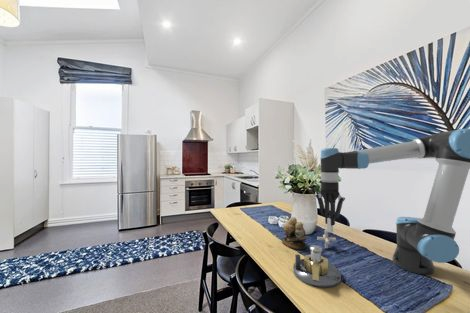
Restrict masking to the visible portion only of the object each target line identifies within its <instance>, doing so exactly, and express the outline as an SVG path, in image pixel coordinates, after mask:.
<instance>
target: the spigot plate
mask: <svg viewBox="0 0 470 313" xmlns="http://www.w3.org/2000/svg"><path fill="white" fill-rule="evenodd" d="M309 250H310V254H311V261H312V262H313V261H318V262H319V263H321V256H322V252H323V247H322V246H320V245H318V244H317V245H316V244H311V245H310V246H309ZM294 256H295V257H294V258H295V260H294V263H293V265H292V268H293V269H292V270H293V274H294V277H295V278H297V279H298V280H299V281H300V282H302V283H304V284H306V285H308V286H310V287H314V288H319V289H330V288H335V287H338V286H339V285H340V284H341V281H342V273H341V271H340V270H339V268H337V267H336V266H335V265H334V264H331V263H330V262H328V273H327V274H324V275H321V274H320V275H319V281H317V280H313V274H312V273H310V272H308V271H307V270H306V269H305V268H304V258H301V255H300V254H298V253H297V254H294Z"/></svg>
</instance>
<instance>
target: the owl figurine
mask: <svg viewBox="0 0 470 313" xmlns="http://www.w3.org/2000/svg"><path fill="white" fill-rule="evenodd" d="M283 232H284V236H285V237H283V238H282V239H281V243H282V244H283V245H284V246H285V247H286V248H289V249H291V250H295V251H303V250H307V248H308V246H307V244H306V243H305V241H306V240H308V237H307V236H306V230H305V228H304V223H303V222H301V221H297V218H296V217H294V216H292V217H290V218H289V219H288V220H287V221H285V223H284V224H283Z"/></svg>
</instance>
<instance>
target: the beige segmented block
mask: <svg viewBox="0 0 470 313" xmlns="http://www.w3.org/2000/svg"><path fill="white" fill-rule="evenodd" d="M303 259H304V268H305V269H306V270H307V271H308V272H310V273H312V274H313V280H317V281H319V275H320V274H321V275H324V274H327V273H328V263H329V259H328V258H326V257H325V256H322V255H321V263H319V262H318V261H313V262H312V261H311V253H310V254H306V255H304V258H303Z"/></svg>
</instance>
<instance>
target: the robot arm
mask: <svg viewBox="0 0 470 313" xmlns="http://www.w3.org/2000/svg"><path fill="white" fill-rule="evenodd" d="M411 158H417V159H425V158H429V159H430V158H433V159H434V158H435V161H436V162H437V163H438V167H437V170H436V173H435V177H434V180H433V184H432V187H431V191H430V194H429V197H428V201H427V205H426V208H425V211H424V214H423V218H421V217H411V216H399V217H397V218H396V222H395V224H396V248H395V249H394V252H393V255H392V263H393V264H394V265H395V266H397V267H398V268H400V269H402V270H405V271H407V272H410V273H414V274H419V275H432V274H434V273H435V265H434V263H439V264H446V263H448V262H452V261H453V260H456V258H457V257H458V256H459V254H460V246H459V245H458V244H457V241H456V240H455V238H456V234H457V232H456V230H455V229H454V228H453V224H454V222H455V217H456V214H457V211H458V207H459V205H460V201H461V198H462V194H463V190H464V189H465V188H464V187H465V184H466V182H467V179H468V178H467V177H468V175H469V171H470V128H458V129H454V130H447V131H442V132H437V133H433V134H430V135H426V136H423V137H418V138H414V139H413V140H412V141H407V142H401V143H393V144H389V145H383V146H377V147H371V148H366V149H365V148H364V149H359V150H353V151H346V152H341V151H339V149H338V148H336V147H331V148H330V147H329V148H327V147H326V148H322V149H321V150H320V158H319V159H320V180H321V181H320V192H319V193H318V194H315V197H316V199H317V203H318V206H319V207H318V208H319V212H320V215H321V216H324V217H325V218H324V220H325V221H324V222H325V225H326V228H327V229H326V230H327V232H328V233H329V234H330V233H333V232H334V226H335V225H336V219H337V218H339V217H340V215H341V210H342V208H343V202H345V200H346V197H343V196H342V195H341V194H340V191H339V186H340V185H339V183H340V182H339V169H340V170H341V169H349V170H352V169H353V170H354V169H356V170H357V169H358V170H360V169H363V170H365V169H367V168H368V167H369V164H370V165H371V164H375V163H382V162H391V161H398V160H403V159H404V160H405V159H411ZM337 200H338V201H337ZM336 202H337V203H336ZM336 204H337V205H336Z"/></svg>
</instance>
